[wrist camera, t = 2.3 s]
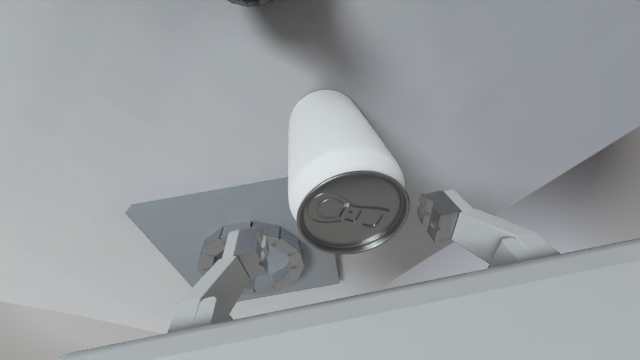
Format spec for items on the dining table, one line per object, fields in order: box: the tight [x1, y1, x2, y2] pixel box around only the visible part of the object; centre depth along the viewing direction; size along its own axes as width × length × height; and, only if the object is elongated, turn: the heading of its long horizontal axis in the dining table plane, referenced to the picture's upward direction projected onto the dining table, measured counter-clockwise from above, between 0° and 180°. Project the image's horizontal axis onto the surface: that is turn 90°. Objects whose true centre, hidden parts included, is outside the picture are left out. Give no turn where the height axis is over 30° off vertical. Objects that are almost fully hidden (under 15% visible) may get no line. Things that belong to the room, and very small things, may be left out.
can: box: [288, 90, 410, 255], centre depth 16 cm, size 6×6×12 cm
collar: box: [197, 221, 304, 295], centre depth 28 cm, size 12×12×2 cm
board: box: [126, 178, 339, 302], centre depth 29 cm, size 20×20×1 cm
